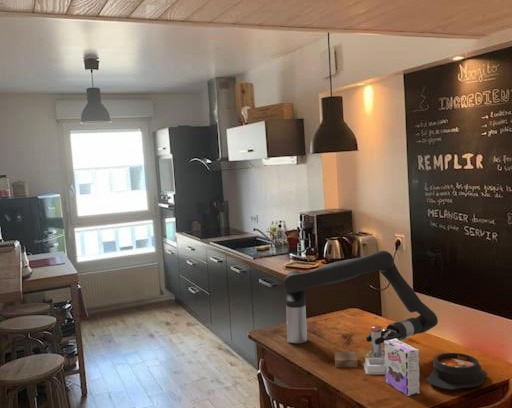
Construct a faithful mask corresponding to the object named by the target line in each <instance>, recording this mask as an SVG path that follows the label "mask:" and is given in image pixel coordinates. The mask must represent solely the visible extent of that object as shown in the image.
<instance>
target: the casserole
mask: <svg viewBox="0 0 512 408" xmlns="http://www.w3.org/2000/svg"><path fill="white" fill-rule="evenodd" d="M432 365H433V367H434V369H433V370H432V371H431V373H430V375H429V376H427V378H426V382H427V383H429V384H430V385H432V386H435V387H437V388H439V389H444V390H449V391H451V390H458V389H469V388H474V387H477V386H480V385H482V384H483V383H484V381H485V378H486V376H488V373H487V372H486V371H485V370H483V369H482V366H481V365H480V363H479V361H478V359H477V358H476V357H474V356H472V355H469V354H464V353H460V352H457V353H456V352H447V353H441V354H438V355H437V356H436V357H435V359H434V361H433V362H432Z"/></svg>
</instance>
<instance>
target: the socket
mask: <svg viewBox="0 0 512 408" xmlns="http://www.w3.org/2000/svg"><path fill="white" fill-rule="evenodd" d="M364 361H365V362H363V363H362V365H363V369H364V373H365V375H385V357H380V358H375V357H365V359H364Z"/></svg>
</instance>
